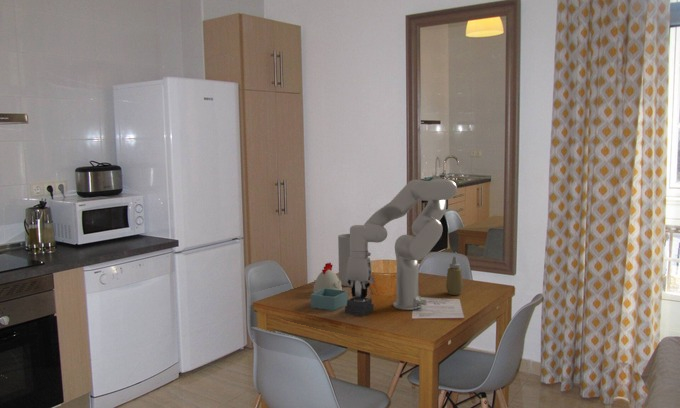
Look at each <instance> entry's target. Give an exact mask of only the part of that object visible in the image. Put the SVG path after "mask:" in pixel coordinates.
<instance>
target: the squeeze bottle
mask: <svg viewBox="0 0 680 408" xmlns="http://www.w3.org/2000/svg"><path fill="white" fill-rule="evenodd" d="M460 266H461V264H460V263H458V259H457V256H455V255H454V256H453V257H452V262H450V263H449V268H447V274H446V281H445V282H446V283H445V287H446V291H447V294H449V295H451V296H458V295H461V294H462V290H463V288H464V282H463V272H462V268H461V267H460Z"/></svg>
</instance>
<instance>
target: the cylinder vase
mask: <svg viewBox="0 0 680 408" xmlns="http://www.w3.org/2000/svg"><path fill="white" fill-rule="evenodd" d="M337 240H338V241H337V242H338V244H337V248H338V253H337V254H338V279H339V280H341V287H342V286H343V287H350V285H349V283H348V282H347V281H346V280H344V278H345V276H346V275H347V266H348V260H349V257H350V233H342V234H339V235H338V236H337ZM350 288H351V287H350Z"/></svg>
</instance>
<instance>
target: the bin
mask: <svg viewBox="0 0 680 408" xmlns="http://www.w3.org/2000/svg"><path fill="white" fill-rule="evenodd" d="M348 294H349V291H348V290H343V289H342V290H336V289H328V288H324V289H321V290H319V291H317V292H315V293H313V292H312V293H311V294H310V308H311V309H317V308H318V309H317V310H323V309H324V311H329V312H330V311H332V312H336V311H338V310H340V309H342V308H345V306H347V300H349V299H348V298H349V297H348V296H349V295H348Z"/></svg>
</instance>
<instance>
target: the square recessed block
mask: <svg viewBox="0 0 680 408" xmlns="http://www.w3.org/2000/svg"><path fill="white" fill-rule="evenodd" d="M354 299H355V296H354V297H351V298H349V299H348V300H347V305H345V306H344V310H345V311H344V313H345V314H347V315H354V316H355V315H356V316H361V317H365V316H367V315H369V314H370V313H372V312H373V311H375V310H374V309H375V307H374V305H375V304H374V303H373V301H372V300H373V299H372V298H371V297H367V296H366V297H365V298H364V299H365V301H364V302H358V301H354Z"/></svg>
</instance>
